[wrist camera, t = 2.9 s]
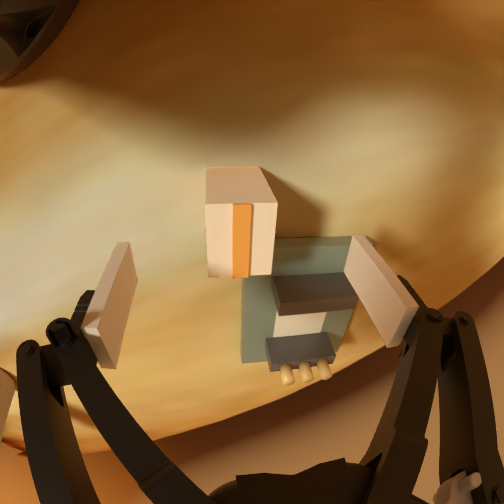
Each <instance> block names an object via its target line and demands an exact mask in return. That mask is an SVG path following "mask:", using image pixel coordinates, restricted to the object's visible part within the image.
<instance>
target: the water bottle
mask: <svg viewBox="0 0 504 504" xmlns="http://www.w3.org/2000/svg"><path fill="white" fill-rule="evenodd" d="M15 389H16V385H15V383H14V380H13V379H12V378H11V377H10V376H9V375H8V374H7V373H6V372H5V371H3V370H2V369H0V444H1V439H2V435H3V431H4V427H5V423H6V419H7V415H8V412H9V408H10V405H11V401H12V398H13V395H14V392H15Z"/></svg>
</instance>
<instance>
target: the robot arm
mask: <svg viewBox="0 0 504 504" xmlns="http://www.w3.org/2000/svg"><path fill="white" fill-rule="evenodd" d="M77 2H78V0H0V82H1V81H4V80H6V79H8V78H10V77H12V76H14V75H16V74H18V73H19V72H21V71H22V70H23V69H25V68H26V67H27V66H29V65H30V64H31V63H32V62H33V61H34V60H36V59H37V58H38V57H39V56H40V55H41V54H42V53H43V51H44V50H45V49H46V48H47V47H48V46H49V45H50V44H51V42H52V41H53V40H54V39H55V37H56V36H57V35H58V33H59V32H60V31H61V29H62V28H63V26H64V25H65V23H66V22H67V20H68V19H69V17H70V15H71V13H72V12H73V10H74V8H75V6H76V4H77ZM344 273H345V275H346V277H347V278H348V280H349V282H350V283H351V285H352V287H353V288H354V290H355V292H356V293H357V295H358V297H359V298H360V300H361V302H362V304H363V305H364V307H365V309H366V311H367V312H368V314H369V316H370V318H371V319H372V321H373V323H374V325H375V327H376V328H377V330H378V332H379V334H380V336H381V337H382V339H383V341H384V343H385V345H386V347H387V348H389V347H394V346H398V345H399V344H400V343H401V341H402V339H403V337H404V339H405V341H406V344H405V346H404V348H403V350H402V351H401V353H400V355H399V357H401V359H400V363H399V366H398V370H397V373H396V376H395V380H394V383H393V386H392V389H391V392H390V395H389V398H388V400H387V403H386V406H385V409H384V412H383V414H382V417H381V420H380V422H379V425H378V427H377V429H376V432H375V434H374V437H373V439H372V442H371V444H370V446H369V448H368V450H367V452H366V454H365V455H364V457H363V458H362V460H361V461H360V463H359V464H356V463H348V462H346V461H345V458H341V459H337V460H333V461H329V462H325V463H320V464H318V465H316V466H313V467H311V468H309V469H307V470H305V471H302V472H300V473H298V474H295V475H283V474H271V473H258V474H248V475H236V480H234V481H231V482H228V483H226V484H224V485H222V486H220V487H218V488H217V489H216V490H214V491H213V492H212V493H211V494H210V495H209V496H207V495H206V494H205V493H204V492H203V491H202V490H201V489H199V488H198V487H197V486H196V485H195V484H194V483H193V482H192V481H191V480H190V479H189V478H188V477H187V476H186V475H185V474H184V473H183V472H182V471H181V470H180V469H179V468H178V467H177V466H176V465H175V464H174V463H173V462H171V461H170V460H169V459H168V458H167V457H166V456H165V455H164V453H163V452H162V451H161V450H160V449H159V448H158V447H157V446H156V445H155V443H154V442H153V441H152V440H151V439H150V438H149V436H148V435H147V434H146V433H145V432H144V430H143V429H142V428H141V427H140V426H139V424H138V423H137V422H136V421H135V419H134V418H133V417H132V416H131V414H130V413H129V412H128V410H127V409H126V408H125V406H124V405H123V404H122V402H121V401H120V400H119V398H118V397H117V396H116V394H115V393H114V391H113V390H112V388H111V387H110V386H109V384H108V383H107V381H106V380H105V378H104V377H103V375H102V374H101V372H100V371H99V369H98V368H97V366H96V365H97V361H98V363H99V365H100V366H101V368H108V369H116V367H117V362H118V357H119V353H120V348H121V344H122V339H123V335H124V331H125V327H126V323H127V319H128V315H129V311H130V307H131V303H132V300H133V296H134V292H135V289H136V285H137V282H138V279H137V275H136V270H135V266H134V261H133V256H132V251H131V246H130V242H117V244H116V246H115V248H114V250H113V252H112V254H111V257H110V259H109V261H108V263H107V265H106V267H105V270H104V272H103V274H102V276H101V279H100V281H99V283H98V286H97V288H96V290H87V291H86V292H85V293H84V294H83V295H82V296H81V297H80V299H79V301H78V303H77V306H76V308H75V312H74V313H73V315H72V317H71V320H69V319H67V318H58V319H55V320H53V321H52V322H51V323H50V324H49V325H48V326H47V329H46V336H47V337H48V339H49V341H50V343H51V344H49V345H45V346H39V344H38V343H37V342H36V341H35V340H27V341H25V342H23V343H22V344H21V345H20V346H19V347H18V349H17V353H16V365H17V385H18V398H19V408H20V416H21V423H22V430H23V436H24V441H25V447H26V452H27V456H28V461H29V465H30V469H31V473H32V477H33V480H34V484H35V488H36V491H37V494H38V497H39V501H40V503H41V504H101V503H100V501H99V499H98V497H97V495H96V492H95V490H94V487H93V485H92V482H91V480H90V477H89V475H88V472H87V469H86V466H85V464H84V461H83V458H82V455H81V452H80V449H79V446H78V443H77V439H76V436H75V433H74V429H73V425H72V422H71V418H70V414H69V410H68V406H67V402H66V397H65V392H64V388H63V386H65V385H70V384H72V386H73V388H74V390H75V392H76V394H77V395H78V397H79V399H80V401H81V402H82V404H83V406H84V408H85V409H86V411H87V413H88V414H89V416H90V417H91V419H92V421H93V422H94V424H95V425H96V427H97V429H98V430H99V432H100V433H101V435H102V436H103V438H104V439H105V440H106V442H107V443H108V445H109V446H110V448H111V449H112V450H113V452H114V453H115V455H116V456H117V457H118V458H119V460H120V461H121V462H122V464H123V465H124V466H125V468H126V469H127V470H128V471H129V473H130V474H131V475H132V476H133V478H134V479H135V480H136V482H137V483H138V486H139V487H140V488H141V490H142V491H143V492H144V493H145V494H146V496H147V497H148V498H149V499H150V500H151V501H152V502H153V503H154V504H429V503H427V502H425V501H423V500H422V499H420V498H418V497H416V496H415V495H413V494H412V491H413V489H414V485H415V483H416V481H417V478H418V475H419V472H420V469H421V466H422V463H423V460H424V456H425V453H426V449H427V446H428V439H426V438H425V432H426V428H427V424H428V420H429V416H430V411H431V407H432V402H433V398H434V393H435V388H436V382H437V377H438V390H439V408H440V456H439V457H440V458H439V479H440V486H439V488H438V490H437V493H436V494H435V495H434V497H433V502H434V503H435V504H504V468H503V464H502V461H501V458H500V455H499V452H498V449H497V448H498V446H497V434H496V424H495V416H494V408H493V401H492V395H491V389H490V384H489V379H488V374H487V369H486V365H485V360H484V356H483V352H482V348H481V345H480V341H479V337H478V333H477V330H476V327H475V323H474V321H473V319H472V317H471V316H470V315H469V314H467V313H465V312H461V311H460V312H457V313H456V314H455V316H454V318H444V317H443V316H442V314H441V313H440V312H439V311H437V310H435V309H432V308H427V306H426V305H425V304H424V302H423V301H422V300H421V298H420V297H419V296H418V294H417V293H415V290H414V289H413V288H412V287H411V285H410V284H409V283H408V281H407V280H405V279H404V278H403V277H401V276H400V275H398V276H396V275H395V274H394V272H393V271H392V270H391V268H390V267H389V266H388V265H387V263H386V262H385V261H384V260H383V258H382V257H381V256H380V255H379V253H378V252H377V251H376V250H375V249H374V247H373V246H372V245H371V244H370V243H369V241H368V240H367V239H366V238H365V237H364V235H352V240H351V244H350V248H349V252H348V257H347V261H346V265H345V269H344ZM401 355H402V356H401Z"/></svg>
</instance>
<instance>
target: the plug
mask: <svg viewBox="0 0 504 504" xmlns="http://www.w3.org/2000/svg"><path fill="white" fill-rule="evenodd" d="M277 206H278V202H277V200H276V198H275V196H274V194H273V193H272V191H271V189H270V187H269V185H268V183H267V181H266V179H265V177H264V175H263V173H262V171H261V169H260V167H259V166H224V167H206V191H205V216H206V240H207V260H208V277H229V276H232V278H248V276H251V275H271V270H272V260H273V250H274V239H275V228H276V217H277Z"/></svg>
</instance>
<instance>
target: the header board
mask: <svg viewBox="0 0 504 504" xmlns="http://www.w3.org/2000/svg"><path fill="white" fill-rule="evenodd" d="M364 237H365V238H366V239H367V240H368V241H369V243H370V244H371V245H372V246H373V247H374V243H373V242H372V241H371V240H370V238H369V237H368V236H364ZM351 240H352V237H309V238H275V239H274V250H273V260H272V270H271V275H251V276H248V278H242V313H241V361H242V363H252V362H264V361H268V365H269V370H270V372H274V371H280V373H281V377H282V382H283V384H284V385H291V384H293V383H294V382H295V380H294V376H293V372H292V369H299V371H300V374H301V378H302V382H304V383H307V382H311V381H312V380H313V379H314V377H313V373H312V370H311V367H313V366H317V368H318V371H319V374H320V377H321V379H322V380H326V379H329V378H330V377H331V376H332V373H331V370H330V367H329V364H333V362H334V359H335V357H336V354H335V353H336V352H337V351H338V349H339V346H340V344H341V341H342V339H343V336H344V333H345V331H346V328H347V326H348V323H349V320H350V318H351V315H352V312H353V309H354V308H355V305H356V302H357V299H358V295H357V293H356V292H355V290H354V288H353V287H352V285H351V283H350V282H349V280H348V278H347V277H346V275H345V273H344V269H345V265H346V261H347V257H348V252H349V248H350V244H351Z"/></svg>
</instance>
